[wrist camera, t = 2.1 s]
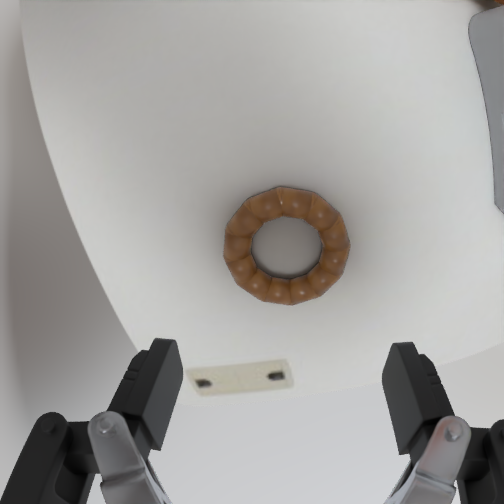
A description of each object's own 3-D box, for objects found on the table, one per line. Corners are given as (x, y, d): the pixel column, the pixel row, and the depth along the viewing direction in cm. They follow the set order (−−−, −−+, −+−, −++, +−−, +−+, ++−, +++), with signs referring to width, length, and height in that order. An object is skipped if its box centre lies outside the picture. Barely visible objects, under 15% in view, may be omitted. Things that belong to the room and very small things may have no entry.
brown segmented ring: (221, 286, 26) (217, 299, 24) (232, 176, 22) (228, 183, 20) (330, 301, 26) (333, 315, 24) (358, 197, 22) (365, 205, 20)
